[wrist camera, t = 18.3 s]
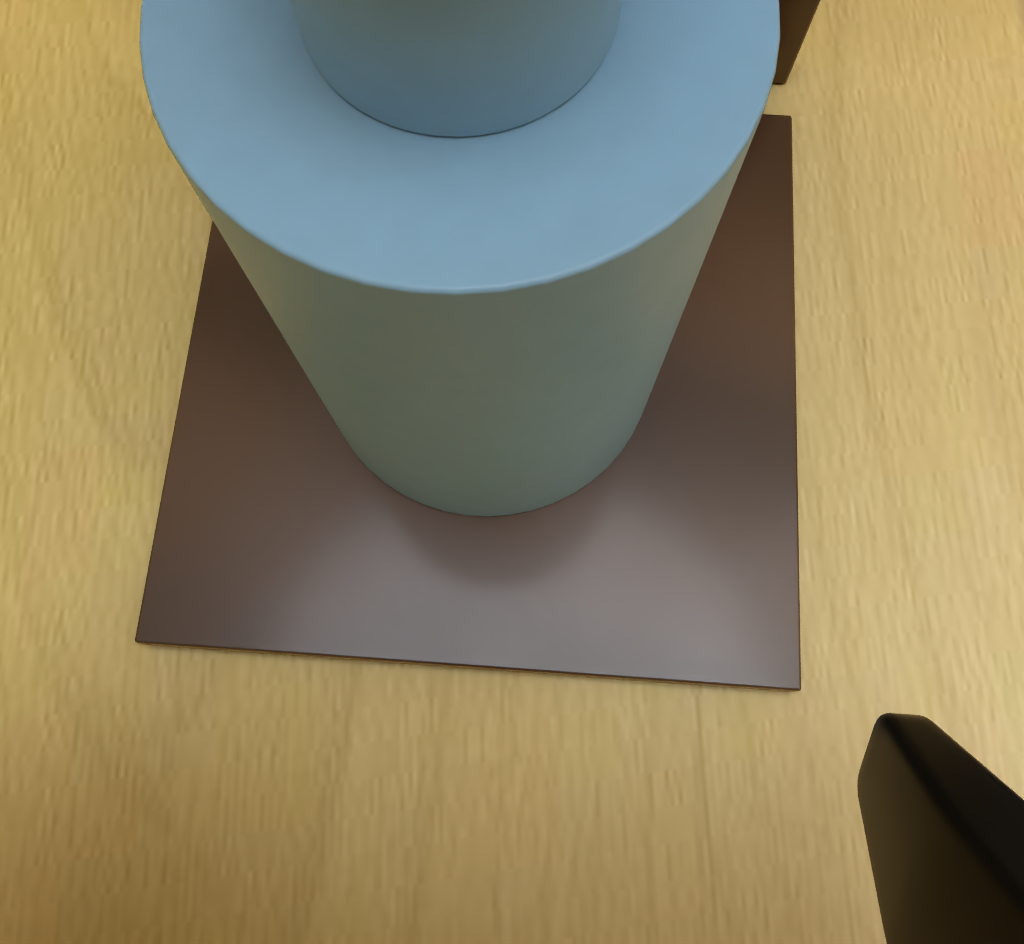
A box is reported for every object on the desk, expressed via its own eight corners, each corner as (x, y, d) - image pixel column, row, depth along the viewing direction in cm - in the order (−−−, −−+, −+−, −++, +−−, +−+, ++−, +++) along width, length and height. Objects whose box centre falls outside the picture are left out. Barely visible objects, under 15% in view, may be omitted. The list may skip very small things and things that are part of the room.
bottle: (487, 587, 16) (416, 255, 5) (259, 360, 18) (-242, -341, 6) (718, 356, 18) (1106, -358, 6) (488, 159, 19) (441, -746, 7)
